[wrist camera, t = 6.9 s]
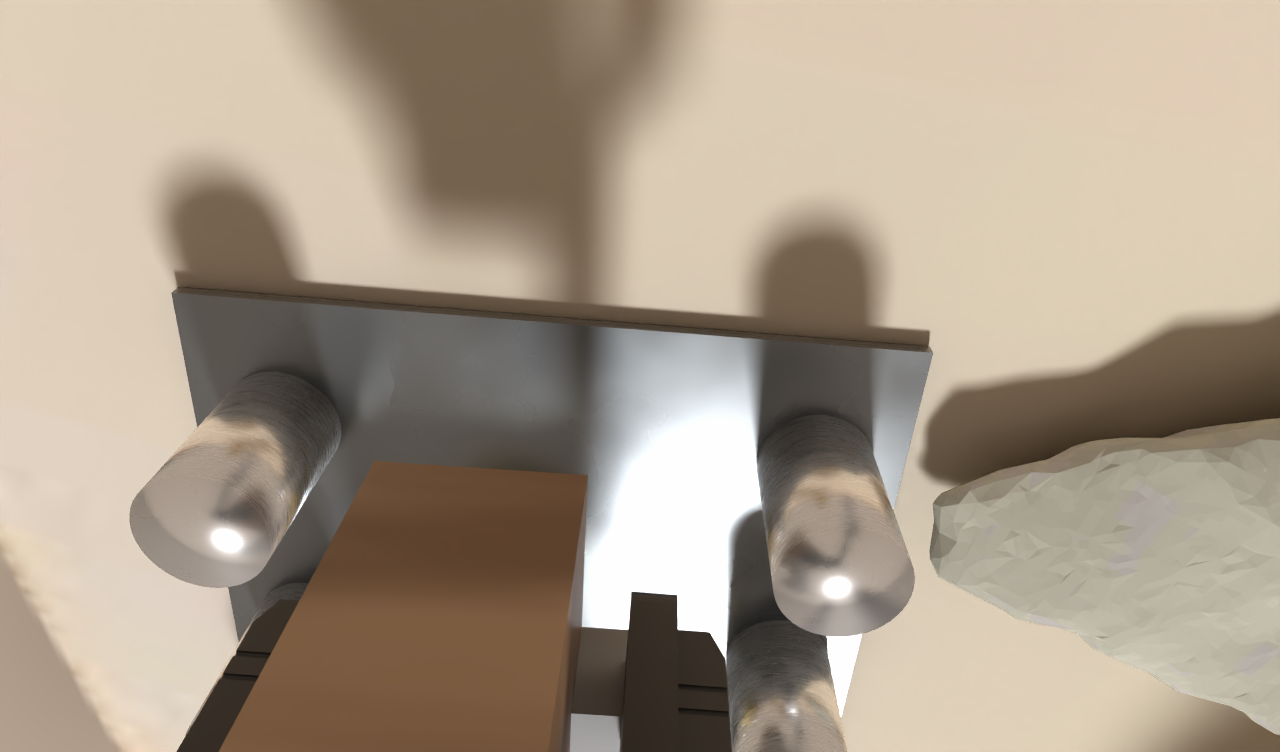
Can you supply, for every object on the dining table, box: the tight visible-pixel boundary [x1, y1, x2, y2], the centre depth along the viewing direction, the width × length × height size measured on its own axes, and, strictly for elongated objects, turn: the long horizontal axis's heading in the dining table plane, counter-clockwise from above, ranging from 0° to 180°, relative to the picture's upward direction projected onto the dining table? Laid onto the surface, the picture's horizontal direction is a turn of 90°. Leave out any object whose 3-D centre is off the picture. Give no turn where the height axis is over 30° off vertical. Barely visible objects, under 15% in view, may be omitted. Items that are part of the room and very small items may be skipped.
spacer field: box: [130, 287, 933, 752], centre depth 21 cm, size 16×16×4 cm
